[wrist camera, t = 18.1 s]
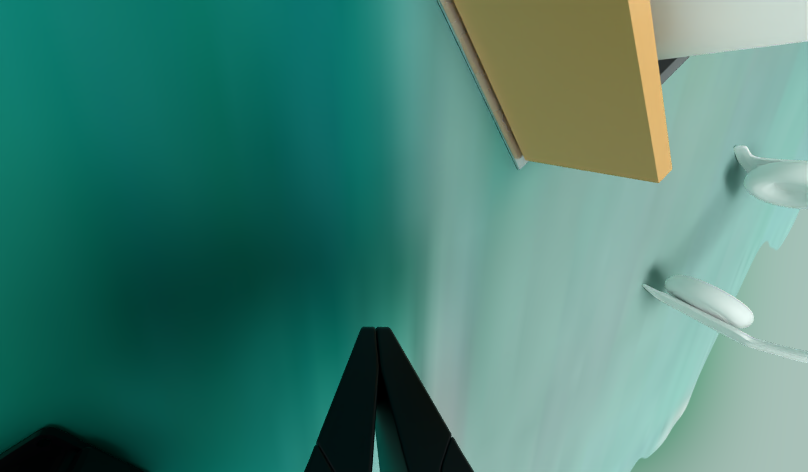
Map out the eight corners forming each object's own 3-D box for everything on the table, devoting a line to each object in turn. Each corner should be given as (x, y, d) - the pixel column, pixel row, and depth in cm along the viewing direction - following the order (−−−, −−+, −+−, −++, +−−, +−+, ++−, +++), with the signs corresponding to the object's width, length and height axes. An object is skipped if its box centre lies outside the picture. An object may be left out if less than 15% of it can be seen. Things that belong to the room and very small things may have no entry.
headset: (648, 306, 40) (895, 425, 25) (630, 283, 36) (910, 408, 21) (745, 176, 39) (1058, 216, 24) (738, 139, 35) (1105, 159, 20)
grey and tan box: (525, 160, 22) (658, 183, 15) (442, -25, 16) (604, -138, 9) (629, 58, 23) (801, 34, 16) (590, -154, 17) (845, -350, 10)
